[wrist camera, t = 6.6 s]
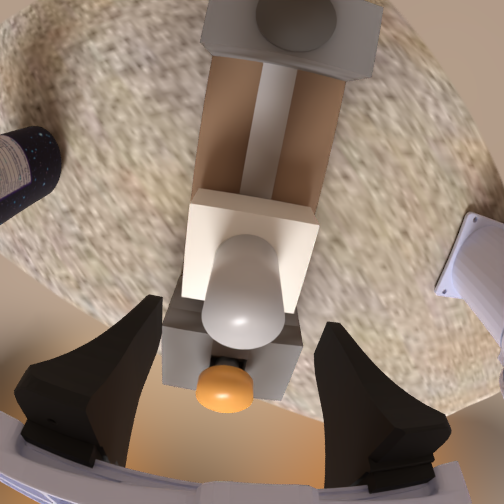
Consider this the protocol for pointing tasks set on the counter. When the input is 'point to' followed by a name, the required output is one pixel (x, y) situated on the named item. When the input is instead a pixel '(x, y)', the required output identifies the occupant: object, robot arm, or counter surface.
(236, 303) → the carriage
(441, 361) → the counter surface
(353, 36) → the rail
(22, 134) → the beverage can
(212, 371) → the button
